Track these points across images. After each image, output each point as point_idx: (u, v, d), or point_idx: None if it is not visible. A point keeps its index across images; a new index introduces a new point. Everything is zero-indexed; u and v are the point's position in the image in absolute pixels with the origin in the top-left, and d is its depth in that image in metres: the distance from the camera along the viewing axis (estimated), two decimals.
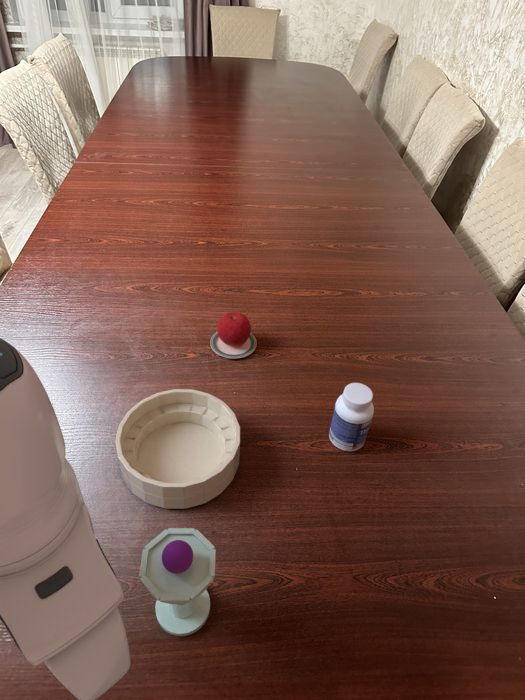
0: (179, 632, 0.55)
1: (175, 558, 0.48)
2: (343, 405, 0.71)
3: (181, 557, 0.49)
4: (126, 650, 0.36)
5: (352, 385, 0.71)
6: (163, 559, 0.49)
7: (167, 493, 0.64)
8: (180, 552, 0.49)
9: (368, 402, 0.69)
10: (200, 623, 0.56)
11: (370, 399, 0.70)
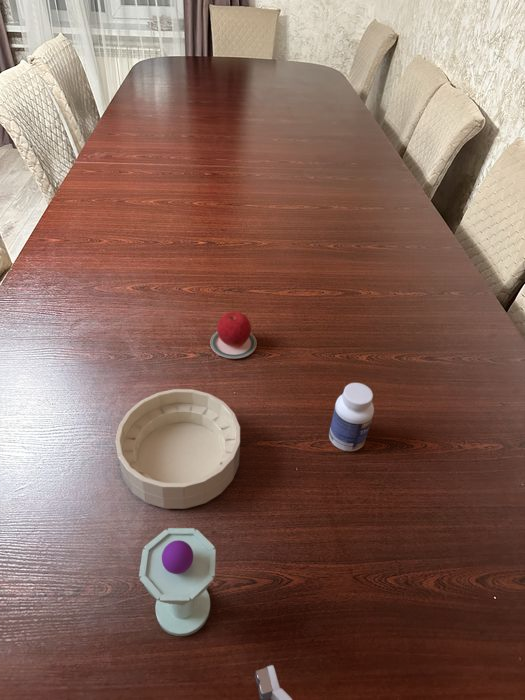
0: (179, 632, 0.55)
1: (175, 559, 0.48)
2: (343, 405, 0.71)
3: (181, 558, 0.49)
4: None
5: (352, 385, 0.71)
6: (163, 560, 0.49)
7: (167, 493, 0.64)
8: (180, 553, 0.49)
9: (368, 402, 0.69)
10: (200, 623, 0.56)
11: (370, 399, 0.70)
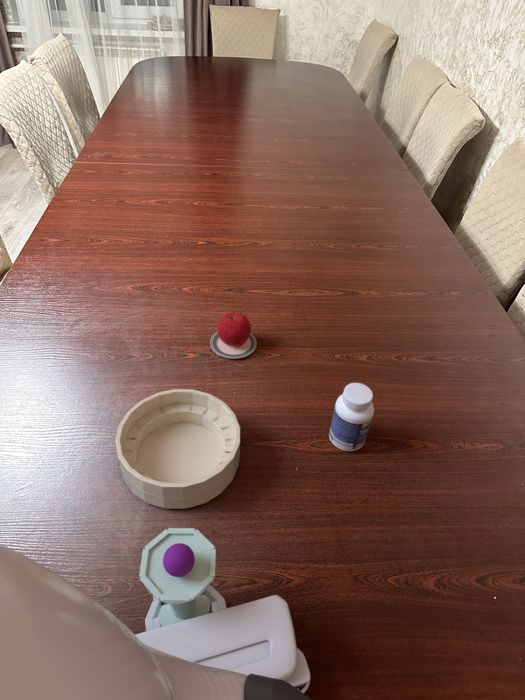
0: None
1: (177, 565, 0.48)
2: (343, 405, 0.71)
3: (183, 564, 0.48)
4: None
5: (352, 385, 0.71)
6: (165, 564, 0.49)
7: (167, 493, 0.64)
8: (183, 559, 0.48)
9: (368, 402, 0.69)
10: None
11: (370, 399, 0.70)
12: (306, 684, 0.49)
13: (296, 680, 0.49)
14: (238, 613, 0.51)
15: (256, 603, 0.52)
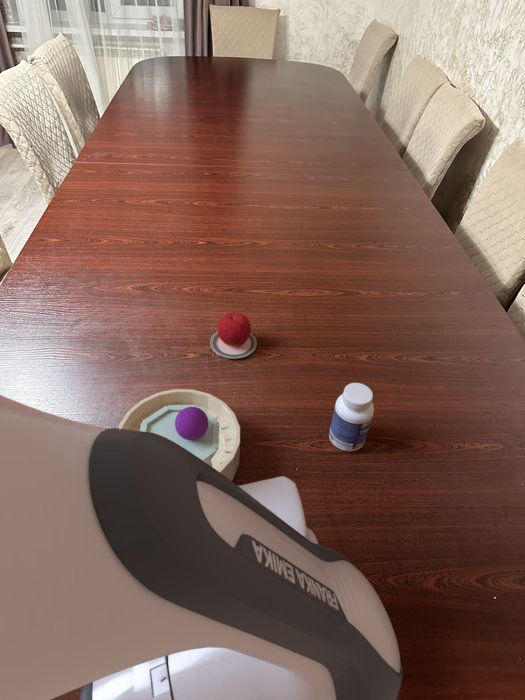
0: None
1: (199, 421, 0.46)
2: (343, 405, 0.71)
3: (203, 424, 0.46)
4: None
5: (352, 385, 0.71)
6: (185, 414, 0.46)
7: None
8: (204, 420, 0.46)
9: (368, 402, 0.69)
10: None
11: (370, 399, 0.70)
12: None
13: None
14: (243, 491, 0.48)
15: (262, 483, 0.49)
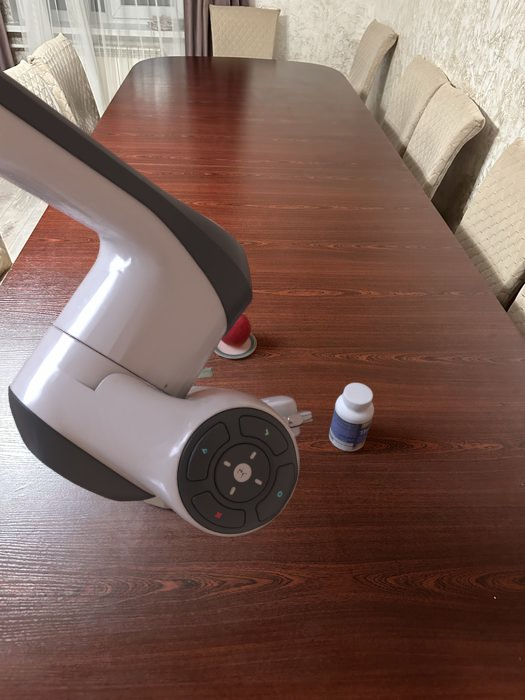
0: None
1: None
2: (343, 405, 0.71)
3: None
4: None
5: (352, 385, 0.71)
6: None
7: None
8: None
9: (368, 402, 0.69)
10: None
11: (370, 399, 0.70)
12: (308, 415, 0.47)
13: None
14: None
15: None
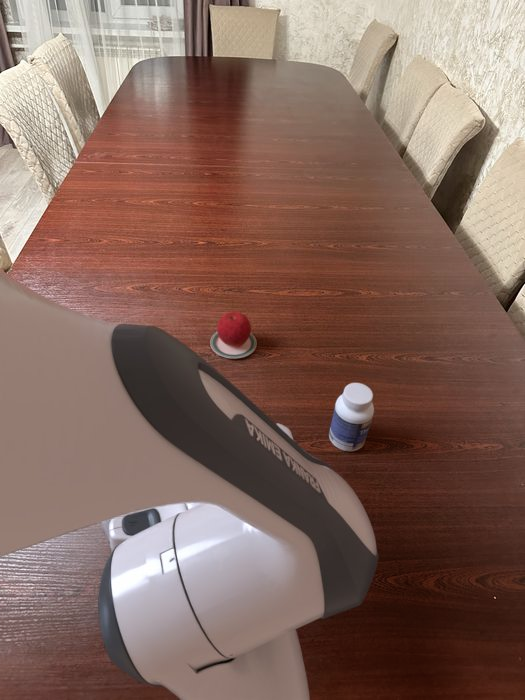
0: None
1: None
2: (343, 405, 0.71)
3: None
4: None
5: (352, 385, 0.71)
6: None
7: None
8: None
9: (368, 402, 0.69)
10: None
11: (370, 399, 0.70)
12: None
13: None
14: None
15: None
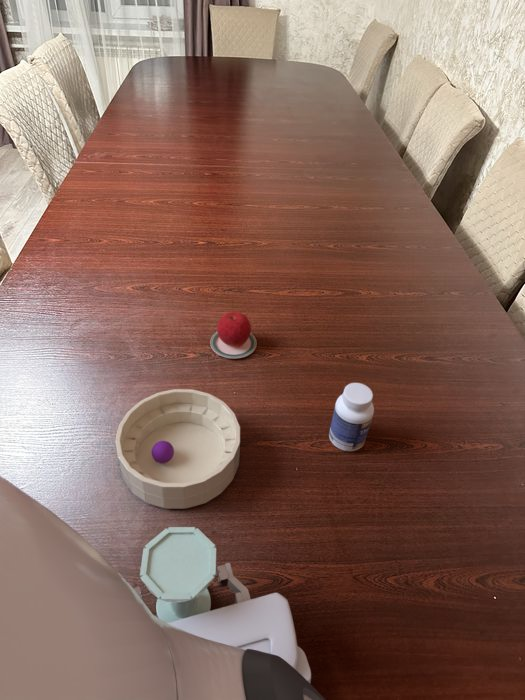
0: None
1: None
2: (343, 405, 0.71)
3: None
4: None
5: (352, 385, 0.71)
6: None
7: (167, 493, 0.64)
8: (162, 462, 0.70)
9: (368, 402, 0.69)
10: None
11: (370, 399, 0.70)
12: (307, 682, 0.48)
13: None
14: (239, 611, 0.51)
15: (256, 601, 0.52)
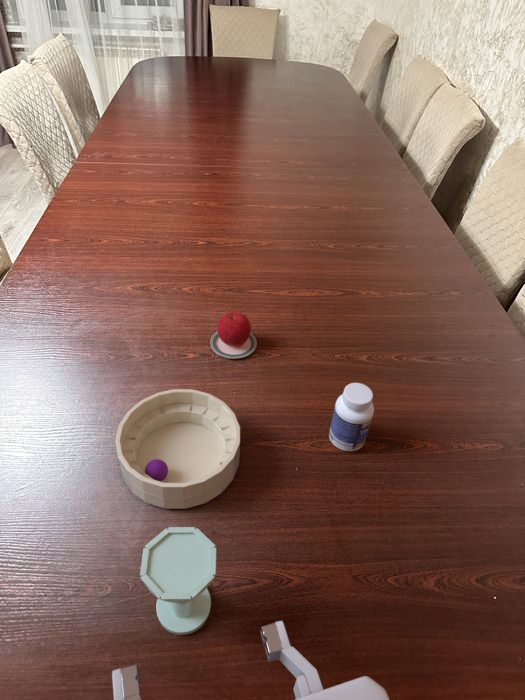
0: (180, 631, 0.55)
1: None
2: (343, 405, 0.71)
3: None
4: None
5: (352, 385, 0.71)
6: None
7: (167, 493, 0.64)
8: None
9: (368, 402, 0.69)
10: (201, 622, 0.56)
11: (370, 399, 0.70)
12: None
13: None
14: None
15: (335, 693, 0.30)
